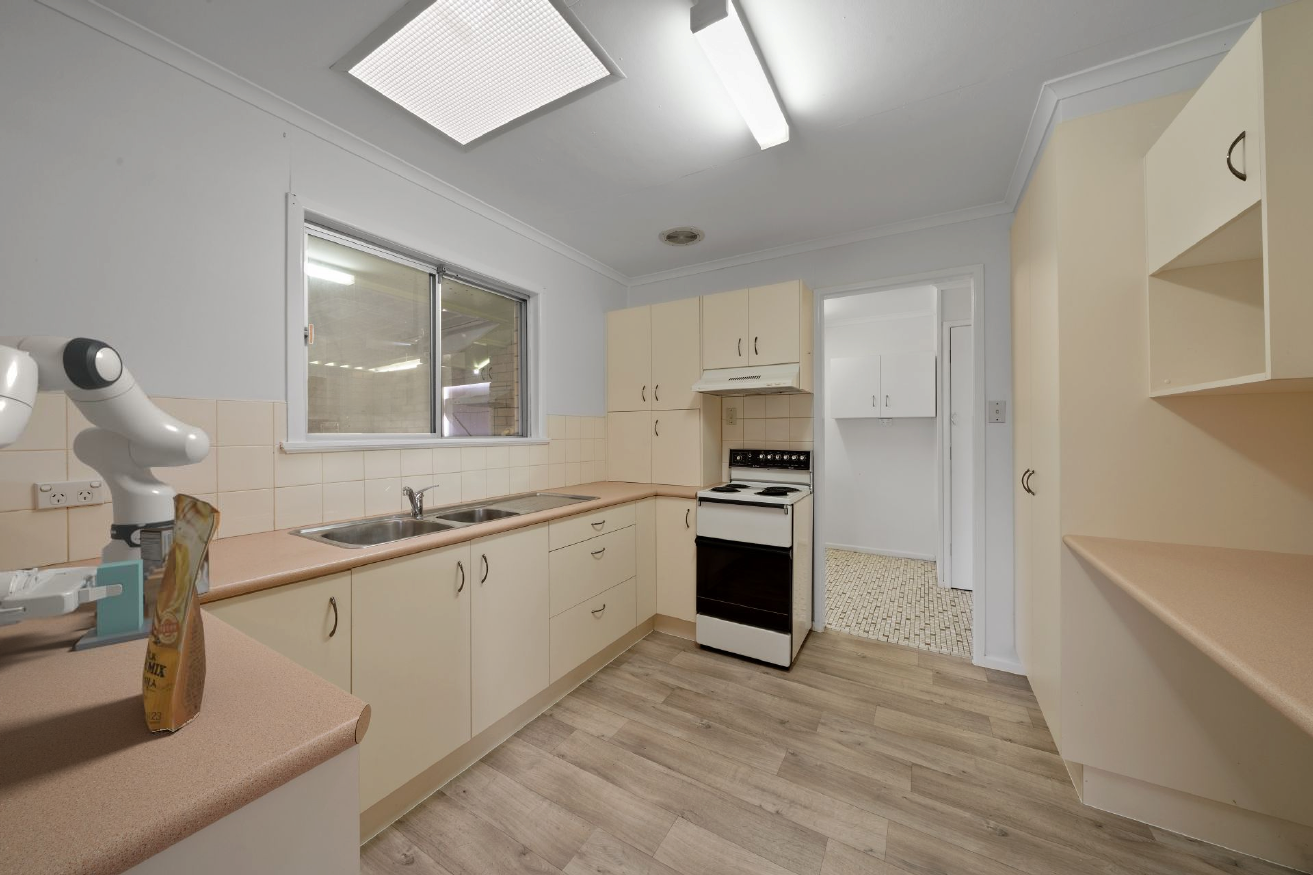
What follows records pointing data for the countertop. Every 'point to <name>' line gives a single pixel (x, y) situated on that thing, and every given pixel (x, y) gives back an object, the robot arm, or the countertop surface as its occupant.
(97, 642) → the pad
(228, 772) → the countertop surface
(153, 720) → the pancake mix bag
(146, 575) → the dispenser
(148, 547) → the coffee box
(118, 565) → the tall teal pillar
